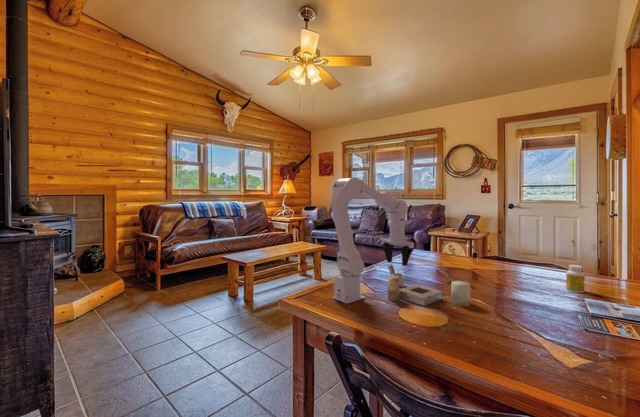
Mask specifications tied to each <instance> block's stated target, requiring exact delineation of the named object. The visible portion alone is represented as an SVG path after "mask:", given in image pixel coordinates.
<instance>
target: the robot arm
mask: <svg viewBox="0 0 640 417" xmlns="http://www.w3.org/2000/svg"><path fill="white" fill-rule="evenodd" d="M331 187H332V188H331V189H332V194H331V198H330V207H331V213H332V215H333V216H332V217H333V221H334V226H335V230H336V236H337V241H338V245H339V251H337V252H336V255H337V258H336V267H337V268H338V269H339V273H340V275H339V276H337V277H335V278H334V280H333V296H332V299H334V300H337V301H339V302H342V303H344V304H346V305H347V304H351V303H353V302H358V301H360V300H364V299H366V296H364V295H361V276H362V273H363V272H364V269H365V262H364V260H363V259H362V257H361V254H360V252H359V251H358V249H357V248H356V246H355V245H356V244H355V242H354V241H355V240H354V235H353V229H352V225H351V220H350V216H349V209H348V205H349V203H350V202H351V201H352V200H353V199H354V198H356V197H357V196H358V195H359V194H362V195H363V196H366V197H367V198H370V199H372V200H374V202H375V204H376V205H377V206H379V207H381V208H383V209H385V210H386V211H387V212H388V214H389V238H381V249H382V250H383V252H384V254H385V259H386V262H387V263H392V261H393V251H394V246H396V247H397V246H398V247H400V251H401V252H400V253H401V261H402V262H401V264H402V266H408V264H409V259H410V257H411V254H412V252H413V251H414V248H415V242H412V241H407V240H405V236H406V235H405V230H406V229H405V227H406V226H405V225H406V224H405V223H406V222H405V221H406V220H405V219H406V217H407V213H408V211H409V207H408V205H407V202H406V201H405V200H403V199H402V200H401V199H398V197H397V196H394V195H391V194H390V192H389V191H378V190H377V189H375V188H374V187H373V186H370V185H369V184H367V183H366V182H365V181H364V180H362V179H360V178H358V177H355V176H353V177H349V178H348V177H346V178H345V177H344V178H343V177H342V178H338V179H337V180H335V181H334V183H333V185H331Z"/></svg>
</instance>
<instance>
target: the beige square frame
mask: <svg viewBox="0 0 640 417" xmlns="http://www.w3.org/2000/svg"><path fill="white" fill-rule="evenodd" d="M399 300H403V301H407V302H410V303H412V304H416V305H417V306H418V305H419V306H422V307H426V306H429V305H431V304H434V303H437V302H439V301H442V300H443V290H439V289H437V288H432V287H428V286H425V285H421V284H418V283H417V284H413V285H409V286H406V287H405V286H404V287H401V288H399Z"/></svg>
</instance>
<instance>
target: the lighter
mask: <svg viewBox="0 0 640 417" xmlns="http://www.w3.org/2000/svg"><path fill="white" fill-rule="evenodd" d="M387 269H388V270H389V275H390V276H396V277H399V287H401V288H404V287H405V275H403V274H402V272H398V271H397V272H396V271H395V268H394V265H393V264H388V265H387Z"/></svg>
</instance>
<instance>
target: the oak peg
mask: <svg viewBox="0 0 640 417" xmlns="http://www.w3.org/2000/svg"><path fill="white" fill-rule="evenodd" d="M399 289H400V286H399V277H396V276H394V275H390V276H388V277H387V301H390V302H400V298H399Z"/></svg>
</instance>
